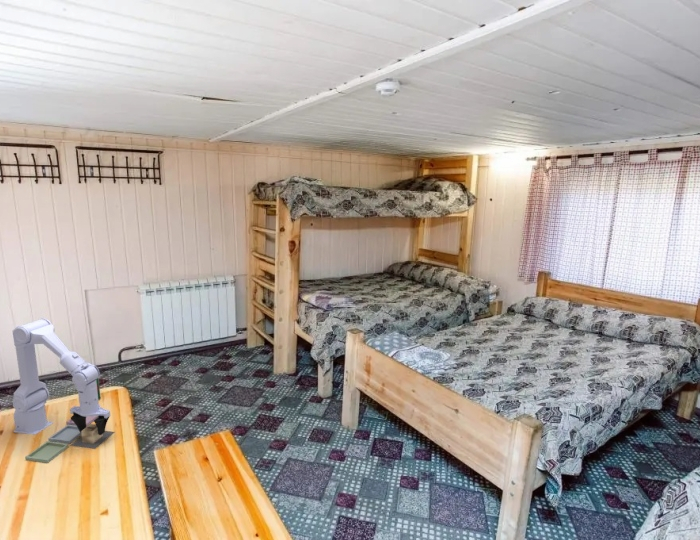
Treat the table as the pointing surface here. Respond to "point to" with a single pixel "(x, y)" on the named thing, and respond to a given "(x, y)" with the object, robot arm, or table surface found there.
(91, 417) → the tray far
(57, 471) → the table surface
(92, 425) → the letter cube
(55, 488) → the table surface
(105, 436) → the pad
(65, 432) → the tray mid
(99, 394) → the soda can
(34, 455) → the tray near
